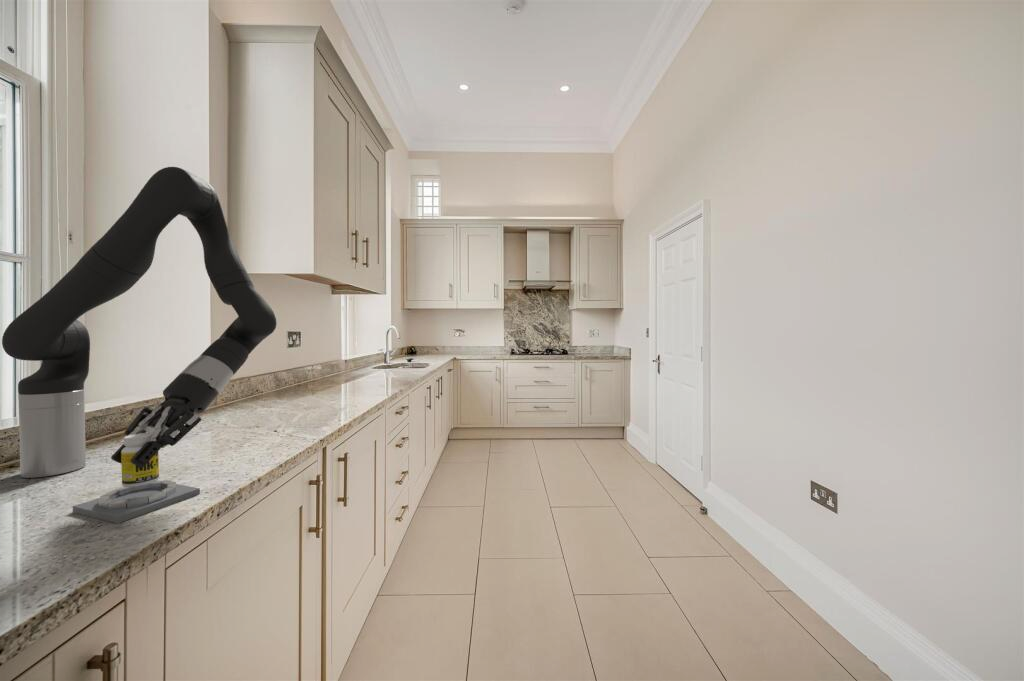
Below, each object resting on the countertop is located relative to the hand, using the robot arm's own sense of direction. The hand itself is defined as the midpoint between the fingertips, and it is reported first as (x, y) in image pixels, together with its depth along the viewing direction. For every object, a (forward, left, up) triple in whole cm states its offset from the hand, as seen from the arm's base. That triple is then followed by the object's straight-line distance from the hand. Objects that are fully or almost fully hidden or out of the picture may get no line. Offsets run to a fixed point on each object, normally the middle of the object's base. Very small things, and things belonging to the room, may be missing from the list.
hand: (126, 462), depth 67 cm
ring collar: (0, +2, -8) cm, 8 cm away
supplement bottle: (0, +2, -4) cm, 5 cm away
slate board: (0, +2, -8) cm, 8 cm away
